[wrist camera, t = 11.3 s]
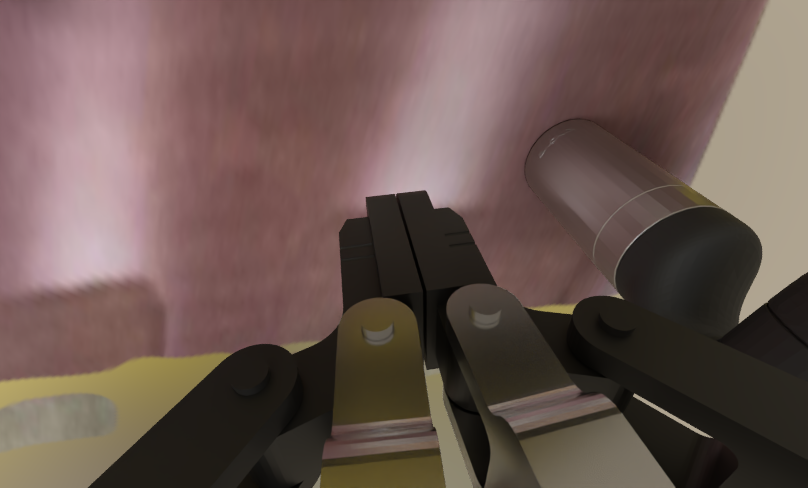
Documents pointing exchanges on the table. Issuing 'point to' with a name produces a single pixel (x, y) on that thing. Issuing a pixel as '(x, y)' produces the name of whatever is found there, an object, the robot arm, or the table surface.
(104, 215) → the table surface
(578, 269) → the table surface
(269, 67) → the table surface
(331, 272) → the table surface
